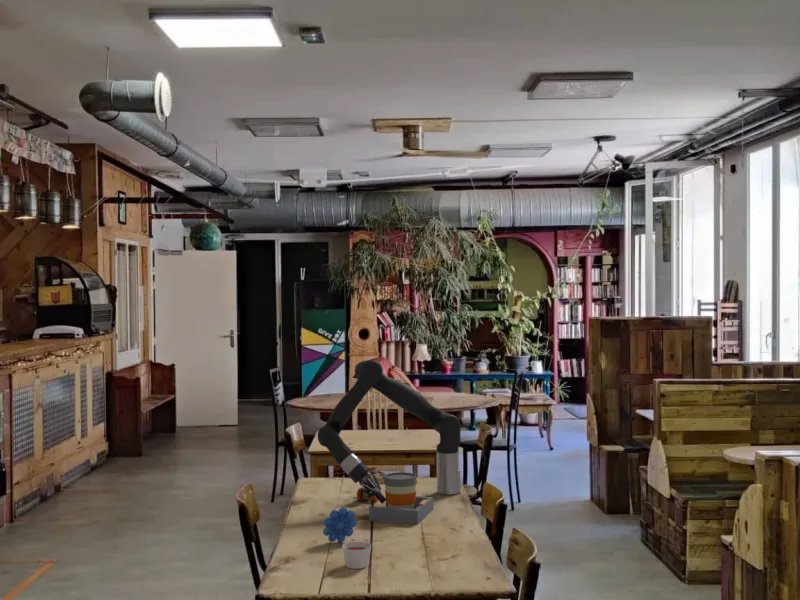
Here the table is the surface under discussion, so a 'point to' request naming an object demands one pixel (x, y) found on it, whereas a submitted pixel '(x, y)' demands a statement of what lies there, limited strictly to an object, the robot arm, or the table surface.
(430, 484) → the table surface
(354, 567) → the candle
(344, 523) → the grapes
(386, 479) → the reusable coffee cup
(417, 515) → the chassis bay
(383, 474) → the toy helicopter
